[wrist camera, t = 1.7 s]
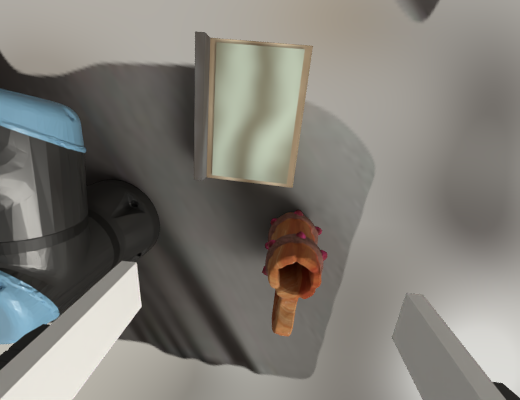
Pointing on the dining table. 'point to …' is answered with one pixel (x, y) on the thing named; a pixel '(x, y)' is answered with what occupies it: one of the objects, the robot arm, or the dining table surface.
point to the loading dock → (248, 109)
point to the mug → (292, 266)
